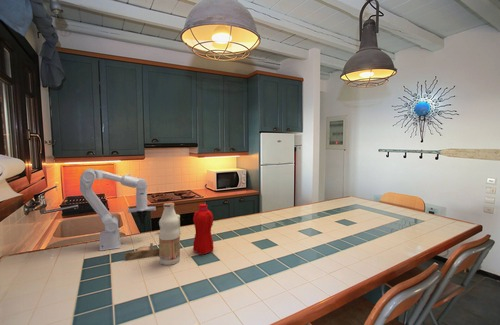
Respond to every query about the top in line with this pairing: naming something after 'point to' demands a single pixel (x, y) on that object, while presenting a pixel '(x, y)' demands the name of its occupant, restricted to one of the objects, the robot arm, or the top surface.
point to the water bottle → (203, 230)
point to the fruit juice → (169, 236)
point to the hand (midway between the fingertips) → (142, 223)
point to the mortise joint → (142, 253)
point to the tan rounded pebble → (143, 248)
